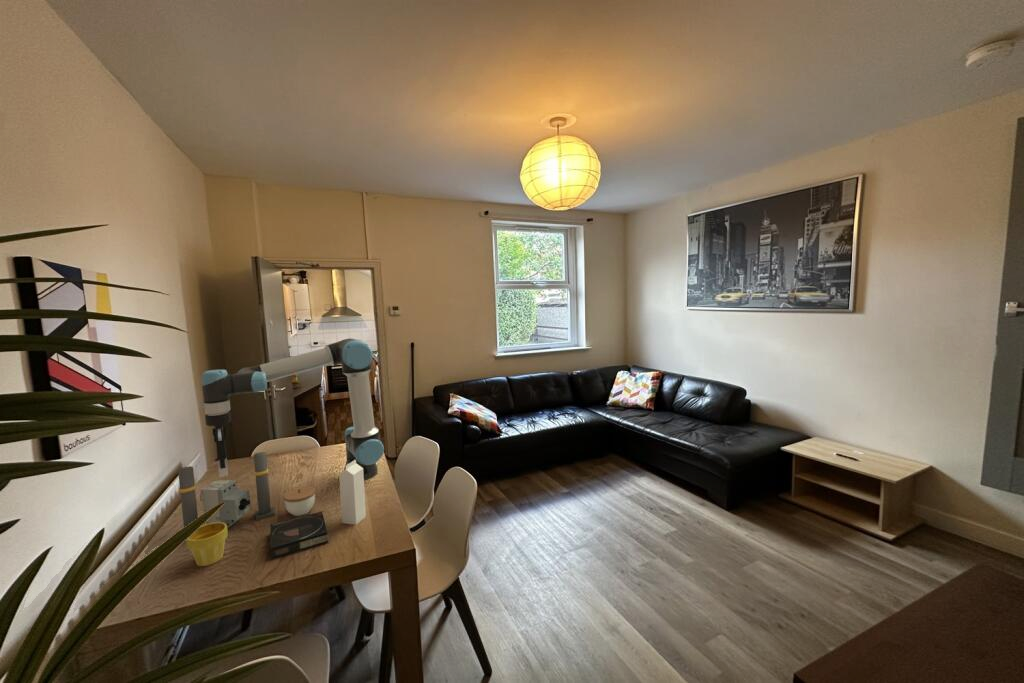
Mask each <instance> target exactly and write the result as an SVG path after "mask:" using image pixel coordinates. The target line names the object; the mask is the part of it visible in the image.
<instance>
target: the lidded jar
mask: <svg viewBox="0 0 1024 683" xmlns="http://www.w3.org/2000/svg"><path fill="white" fill-rule="evenodd" d="M283 500H284V507H285V509H286V511H287V512H288V513H289V514H290V515H292V516H294V517H302V516H305V515H306V514H308V513H309V512H310V511H311V509H312V508H313V507H314V505H315V501H316V488H314V487H313V486H300V487H296V488H293V489H290V490H288V491H287V492H286V493H285V494H284V495H283Z"/></svg>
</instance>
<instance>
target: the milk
mask: <svg viewBox="0 0 1024 683" xmlns="http://www.w3.org/2000/svg"><path fill="white" fill-rule="evenodd" d="M338 478H339V491H340V492H339V493H340V494H339V496H340V507H341V510H340V511H341V523H342V524H348V525H355V526H357V525H358V524H359V523H360V522H362V520H364V519H365V518H366V517H367V514H366V494H365V480H364V475H363V468H362V467H361V466H359V465H358V464H356V460H354V461H352V462H351V463H349V464H347V465H346V469H345V470H344V469H343V470H342V471H341V472H339V473H338Z"/></svg>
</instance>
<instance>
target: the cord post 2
mask: <svg viewBox="0 0 1024 683" xmlns="http://www.w3.org/2000/svg"><path fill="white" fill-rule="evenodd" d="M253 462H254V471H253V474H254V477H255V487H256V499H257V509H258V510H255V511H254V513H255V521H259V520H262V519H266V518H271V517H274V516H275V515H276V514H275V513H276V512H275V510H274V509H275V508H274V506H271V497H270V496H271V494H270V484H269V482H270V481H269V473H270V472H269V468H268V460H267V452H265V451H259V452H256V453H254V454H253Z"/></svg>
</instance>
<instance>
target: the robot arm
mask: <svg viewBox="0 0 1024 683" xmlns="http://www.w3.org/2000/svg"><path fill="white" fill-rule="evenodd" d="M373 353H374V352H373V350H372V348H371V347H370V345H369V344H368V343H367V342H365V341H363V340H361V339H355V338H344V339H342V340H341V339H340V341H339V340H338V341H336V342H333V343H329V344H326V345H325V346H324V347H323V348H320V349H315V350H312V351H308V352H305V353H300V354H297V355H293V356H290V357H285V358H281V359H278V360H274V361H270V362H266V363H262V364H259V365H255V366H251V367H250V366H249V367H248V366H247V367H243V368H241V369H240V370H238V372H236V373H234V374H233V373H232V374H228V371H227V369H222V368H221V369H211V370H205V371H204V372H202V373H201V391H202V399H203V405H202V406H201V408H202V409H204V414H205V415H204V420H205V426H207V427H214V428H212V435H213V438H214V439H213V441H214V443H215V445H216V454H217V456H216V458H215V460H214V461H215V462H217V469H218V470H217V471H218V478H222V477H228V476H229V470H228V459H227V457H229V454H228V453H227V450H226V440H227V427H226V426H224V425H227V424H229V423H230V422H231V421H232V412H231V401H230V400H231V399H230V396H233V395H240V394H250V393H251V394H252V393H259V392H264V391H266V390H267V389H268V384H267V383H268V382H269V383H270V382H272V381H276V380H279V379H284V378H286V377H289V376H293V375H298V374H301V373H304V372H309V371H312V370H316V369H319V368H322V367H326V366H332V367H334V366H338V365H341V369H342V371H341V372H342V375H345V376H346V377H347V385H348V386H347V387H348V393H349V394H348V395H349V402H350V410H351V417H352V423H353V424H352V425H353V426H350V427H348V428H346V429H345V431H344V437H345V438H344V439H345V440H344V441H345V457H346V459H345V460H346V462H345V465H344V469H343V471H344V470H345V469H346V465H347V464H349V463H351V462H352V461H354V460H356V464H358V465H359V466H361V467H362V468H363V475H364V481H365V480H369V479H371V478H373V477H375V476H376V475H377V474H378V472H379V471H378V470H379V469H378V465H377V462H378V461H379V460H381V459H382V457H383V455H384V452H385V448H384V447H385V446H384V444H383V442H382V441H381V436H380V429H379V428H378V427H377V426H376V425H375V417H374V409H373V401H372V395H371V394H372V393H371V392H372V391H371V384H370V378H369V377H370V376H369V373H370V372H371V371H372V360H373V356H374V354H373Z"/></svg>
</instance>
